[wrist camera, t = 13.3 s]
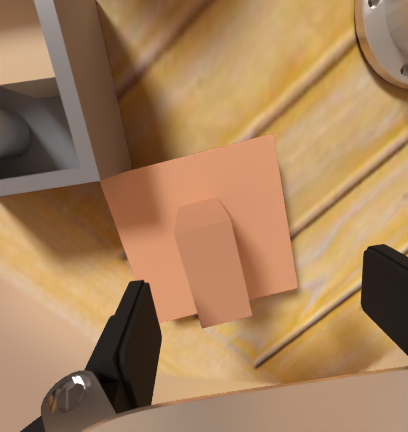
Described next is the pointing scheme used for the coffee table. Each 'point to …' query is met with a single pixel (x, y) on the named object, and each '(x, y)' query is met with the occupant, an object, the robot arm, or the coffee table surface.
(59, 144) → the storage box
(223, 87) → the coffee table surface
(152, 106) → the coffee table surface
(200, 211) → the lid
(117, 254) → the coffee table surface
